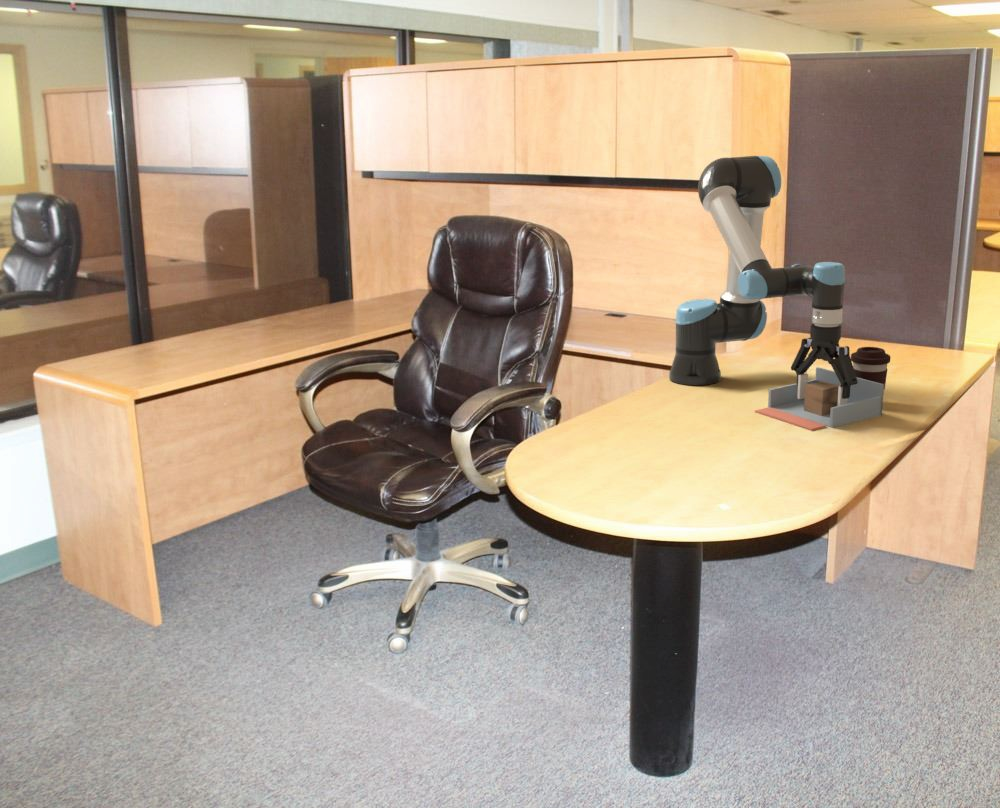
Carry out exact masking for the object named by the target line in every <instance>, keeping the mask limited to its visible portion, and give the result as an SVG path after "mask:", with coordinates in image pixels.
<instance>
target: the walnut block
mask: <svg viewBox="0 0 1000 808" xmlns="http://www.w3.org/2000/svg"><path fill="white" fill-rule="evenodd" d="M838 389H839V386H838V385H834V384H830V383H827V382H823V381H820V382H816V383H811V384H807V385H805V400H804V411H807V412H810V413H813V414H816V415H820V416H824V415H828V414H830V410H831V408H832V407H836V406H837V405H838Z"/></svg>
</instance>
